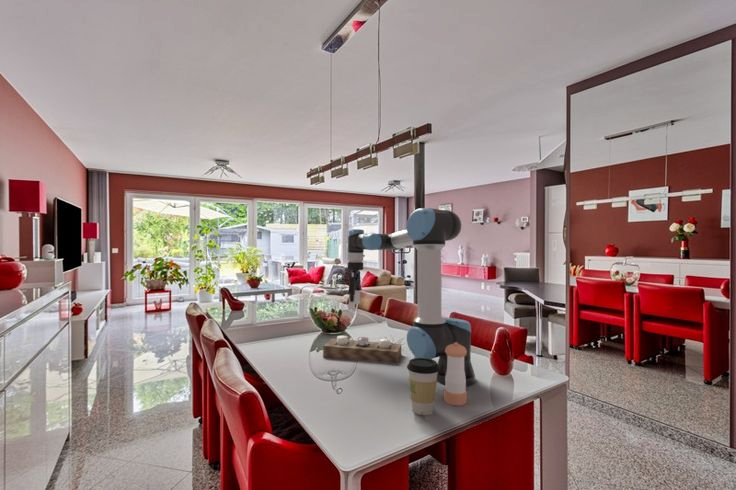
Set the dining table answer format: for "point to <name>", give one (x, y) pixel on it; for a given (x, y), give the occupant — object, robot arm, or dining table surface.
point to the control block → (362, 351)
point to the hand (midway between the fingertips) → (354, 306)
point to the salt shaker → (455, 375)
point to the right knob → (384, 343)
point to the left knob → (342, 340)
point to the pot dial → (363, 342)
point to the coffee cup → (422, 384)
